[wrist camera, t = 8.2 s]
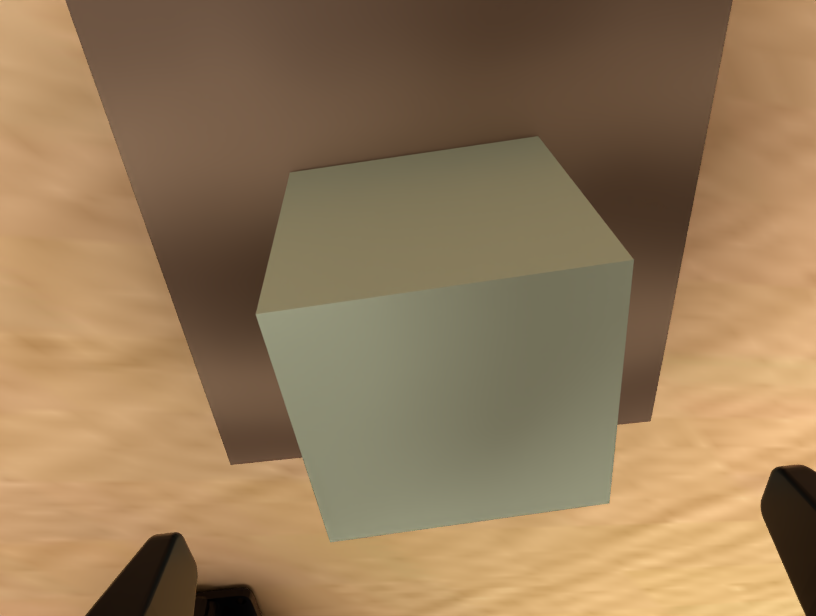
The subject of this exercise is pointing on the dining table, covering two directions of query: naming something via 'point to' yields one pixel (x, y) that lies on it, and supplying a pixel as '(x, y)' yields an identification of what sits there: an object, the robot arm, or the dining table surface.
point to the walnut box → (391, 141)
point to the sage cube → (447, 337)
